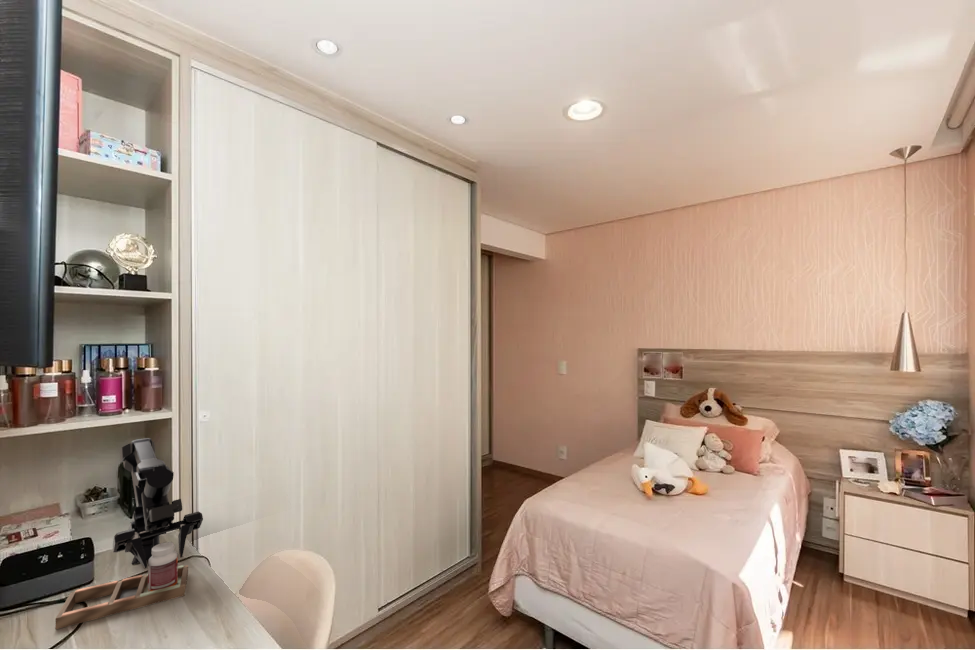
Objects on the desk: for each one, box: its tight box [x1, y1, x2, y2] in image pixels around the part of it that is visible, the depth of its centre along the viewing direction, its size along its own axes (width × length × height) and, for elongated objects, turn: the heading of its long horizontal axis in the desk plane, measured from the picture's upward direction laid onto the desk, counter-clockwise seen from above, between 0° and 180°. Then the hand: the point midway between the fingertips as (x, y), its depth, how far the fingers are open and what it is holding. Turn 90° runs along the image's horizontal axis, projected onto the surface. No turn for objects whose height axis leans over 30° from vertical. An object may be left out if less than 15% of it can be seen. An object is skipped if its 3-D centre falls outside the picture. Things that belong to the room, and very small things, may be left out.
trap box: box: [55, 564, 189, 630], centre depth 109 cm, size 24×11×3 cm, turn 121°
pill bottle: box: [147, 541, 179, 592], centre depth 112 cm, size 6×6×11 cm
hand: (164, 562), depth 111 cm, fingers open, 7 cm apart
